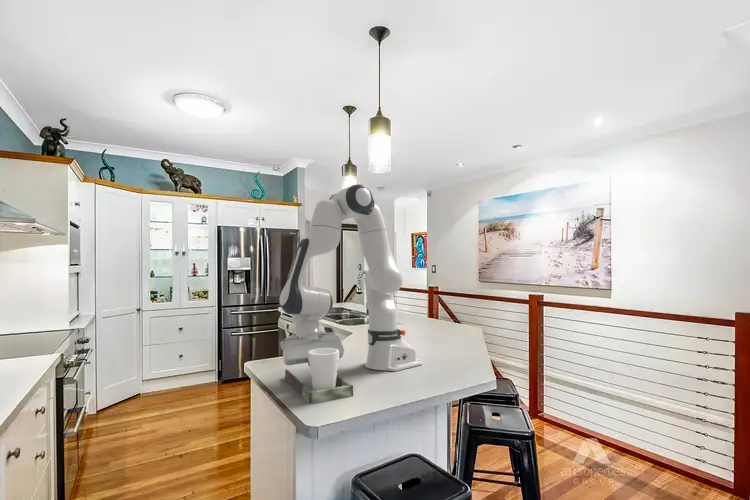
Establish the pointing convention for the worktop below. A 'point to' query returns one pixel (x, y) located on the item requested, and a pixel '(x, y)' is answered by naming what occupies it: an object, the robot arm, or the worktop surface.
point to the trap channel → (321, 395)
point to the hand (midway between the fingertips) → (319, 371)
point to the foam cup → (323, 367)
